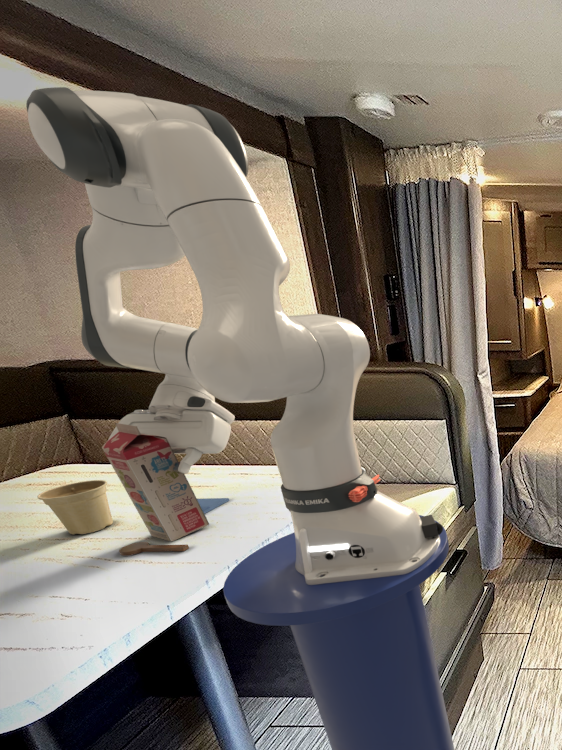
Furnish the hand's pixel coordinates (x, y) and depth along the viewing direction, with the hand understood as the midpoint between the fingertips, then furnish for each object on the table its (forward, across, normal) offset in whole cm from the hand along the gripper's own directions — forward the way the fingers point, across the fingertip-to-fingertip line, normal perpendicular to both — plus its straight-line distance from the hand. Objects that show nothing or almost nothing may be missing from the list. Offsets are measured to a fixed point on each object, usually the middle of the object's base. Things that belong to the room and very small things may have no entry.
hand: (155, 473), depth 94 cm
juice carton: (+8, 0, +9) cm, 12 cm away
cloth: (+1, -6, +17) cm, 18 cm away
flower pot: (+7, -20, +11) cm, 24 cm away
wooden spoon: (+14, +2, +4) cm, 14 cm away
